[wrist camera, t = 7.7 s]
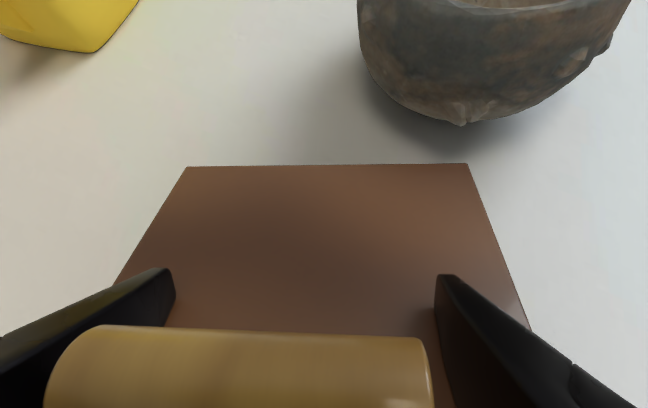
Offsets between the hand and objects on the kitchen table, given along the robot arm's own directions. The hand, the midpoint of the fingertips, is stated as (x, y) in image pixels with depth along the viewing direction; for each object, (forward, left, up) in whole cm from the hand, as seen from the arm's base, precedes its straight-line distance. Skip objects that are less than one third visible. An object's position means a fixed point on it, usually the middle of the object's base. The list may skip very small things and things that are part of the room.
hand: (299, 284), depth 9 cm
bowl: (+19, 0, -11) cm, 22 cm away
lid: (0, 0, -1) cm, 1 cm away
